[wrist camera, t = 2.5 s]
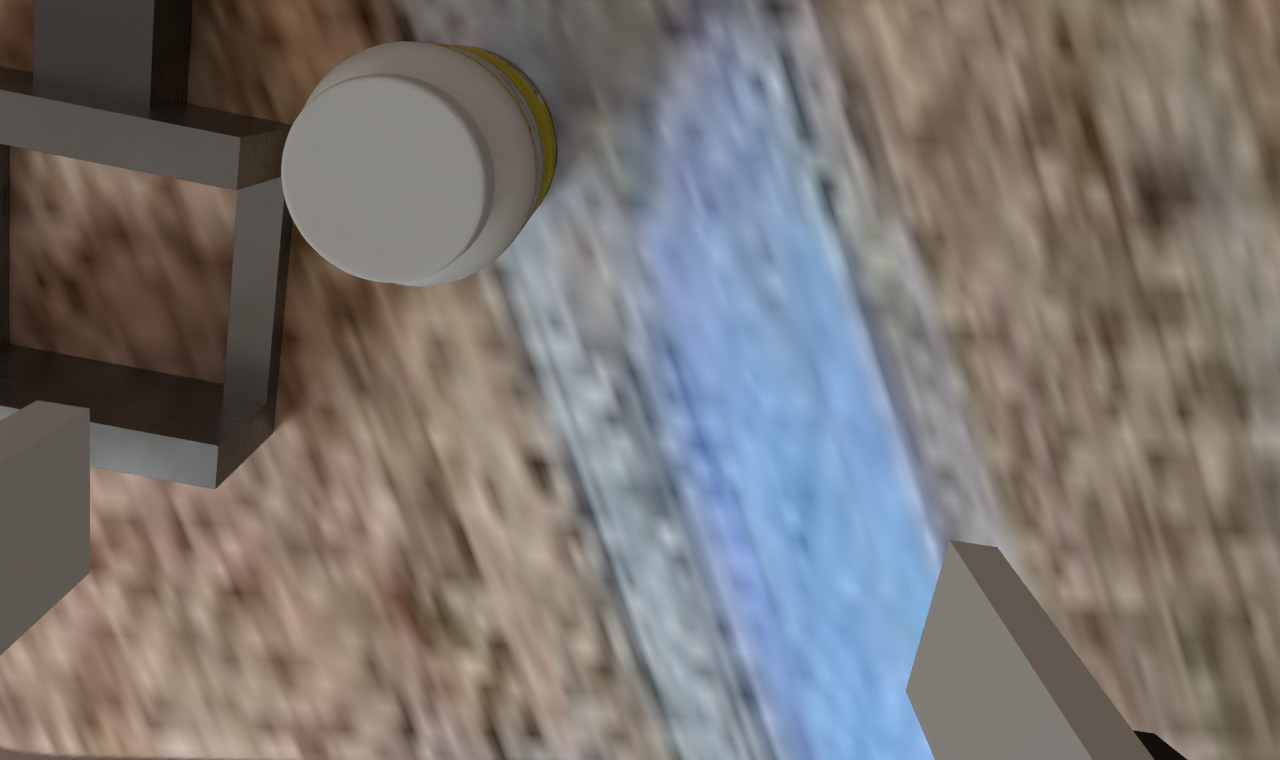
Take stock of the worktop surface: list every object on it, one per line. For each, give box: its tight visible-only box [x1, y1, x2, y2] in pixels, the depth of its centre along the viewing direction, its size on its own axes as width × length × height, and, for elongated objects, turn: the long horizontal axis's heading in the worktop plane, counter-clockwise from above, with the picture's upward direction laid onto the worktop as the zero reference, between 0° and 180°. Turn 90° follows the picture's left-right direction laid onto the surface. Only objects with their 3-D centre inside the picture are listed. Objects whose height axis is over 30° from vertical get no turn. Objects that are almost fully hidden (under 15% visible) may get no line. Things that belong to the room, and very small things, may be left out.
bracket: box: [0, 0, 292, 489], centre depth 30 cm, size 22×11×5 cm, turn 169°
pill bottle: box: [281, 41, 558, 287], centre depth 28 cm, size 6×6×11 cm
